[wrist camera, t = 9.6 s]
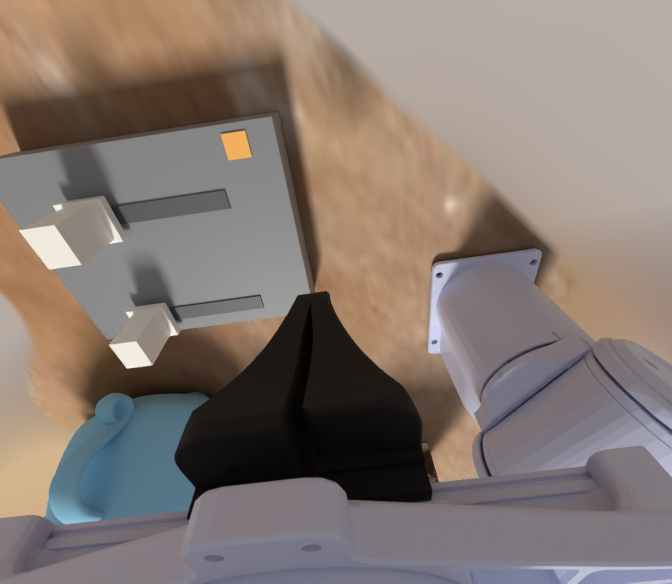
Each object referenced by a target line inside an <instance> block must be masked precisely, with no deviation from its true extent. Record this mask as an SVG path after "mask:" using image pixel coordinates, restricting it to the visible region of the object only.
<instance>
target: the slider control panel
mask: <svg viewBox="0 0 672 584" xmlns="http://www.w3.org/2000/svg"><path fill="white" fill-rule="evenodd" d="M97 196H104V197H105V198H106V200H107V202H108V204H109V205H110V207H111V209H112V211H113V212H114V214H115V216H116V218H117V220H118V221H119V223H120V225H121V227H122V228H123V230H124V232H125V234H126V235H127V237H128V238H127V239H126V240H125V241H123V242H118V243H111V244H108V245H106V246H105V247H104V248H103V249H101V250H100V251H99V252H98V253H96V254H95V255H94V256H93V257H91V258H90V259H89V260H87V261H86V262H85V263H84V264H82V265H78V266H71V267H64V268H57V269H53V270H54V272H55V273H56V274H57V275H58V277H59V278H60V279H61V281H62V282H63V283H64V285H65V286H66V287H67V288H68V290H69V291H70V292H71V294H72V295H73V296H74V298H75V299H76V300H77V301H78V303H79V304H80V305H81V307H82V308H83V309H84V311H85V312H86V313H87V315H88V316H89V317H90V318H91V320H92V321H93V322H94V324H95V325H96V326H97V328H98V329H99V330H100V331H101V333H102V334H103V335H104V337H105V338H106V339H107V340H109V339H114V338H115V336H116V335H117V334H118V332H119V331H120V330H121V329H122V327H123V326H124V325H125V324H126V322H127V321H128V320H129V317H128V315H127V314H126V311H127V310H128V309H129V307H136V306H144V305H151V304H158V303H166V305H167V306H168V308H169V310H170V312H171V314H172V315H173V317H174V319H175V321H176V322H177V324H178V326H179V328H180V330H183V329H191V328H198V327H206V326H213V325H221V324H228V323H236V322H243V321H251V320H258V319H266V318H273V317H281V316H287V314H288V312H289V310H290V308H291V307H292V305H293V303H294V301H295V299H296V297H297V296H298V295H302V294H309V293H315V287H314V282H313V277H312V272H311V268H310V263H309V258H308V253H307V248H306V243H305V239H304V234H303V229H302V224H301V219H300V214H299V209H298V205H297V200H296V195H295V190H294V185H293V180H292V175H291V171H290V166H289V161H288V156H287V151H286V146H285V141H284V137H283V132H282V127H281V122H280V117H279V112H278V111H275V112H269V113H263V114H256V115H250V116H243V117H237V118H231V119H224V120H218V121H211V122H205V123H199V124H192V125H186V126H179V127H173V128H167V129H160V130H154V131H147V132H141V133H135V134H128V135H122V136H115V137H109V138H103V139H96V140H90V141H83V142H77V143H71V144H64V145H58V146H51V147H45V148H39V149H32V150H26V151H20V152H15V153H11V154H7V155H3V156H0V201H1V203H2V204H3V205H4V206H5V208H6V209H7V210H8V212H9V213H10V214H11V216H12V217H13V218H14V219H15V221H16V222H17V223H18V225H19V226H20V227H21V229H22V228H24V227H26V226H28V225H30V224H32V223H34V222H36V221H38V220H40V219H42V218H44V217H46V216H48V215H50V214H52V213H54V212H56V210H55V208H54V207H53V205H55V204H57V203H59V202H64V201H71V200H77V199H84V198H91V197H97Z"/></svg>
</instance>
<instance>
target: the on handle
mask: <svg viewBox="0 0 672 584" xmlns="http://www.w3.org/2000/svg"><path fill="white" fill-rule="evenodd" d="M126 314H127V315H128V317H129V320H128V321H127V322H126V324H125V325H124V326H123V327H122V329H121V330H120V331H119V332H118V334H117V335H116V336H115V338H114V339H113V340H112V341H111V343H110V344H109V346H110V347H111V349H112V350H113V351H114V352H115V354H116V355H117V356H118V358H119V359H120V360H121V362H122V363H123V364H124V365H125V367H126V368H127V369H128V368H136V367H143V366H151V365H153V364H154V362H155V361H156V359H157V357H158V355H159V354H160V352H161V350H162V348H163V347H164V345H165V343H166V341H167V340H168V338H169V336H174V335H178V334H179V332H180V328H179V326H178V324H177V322H176V321H175V319H174V317H173V315H172V314H171V312H170V310H169V308H168V306H167V305H166V303H158V304H151V305H144V306H136V307H129V309H128V310H127V311H126Z"/></svg>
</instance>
